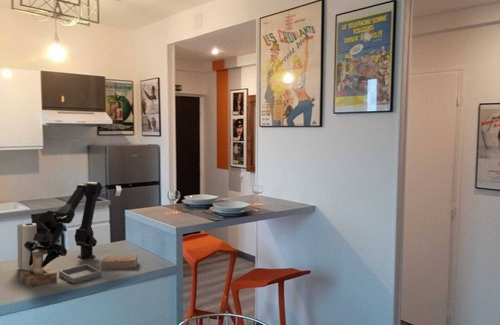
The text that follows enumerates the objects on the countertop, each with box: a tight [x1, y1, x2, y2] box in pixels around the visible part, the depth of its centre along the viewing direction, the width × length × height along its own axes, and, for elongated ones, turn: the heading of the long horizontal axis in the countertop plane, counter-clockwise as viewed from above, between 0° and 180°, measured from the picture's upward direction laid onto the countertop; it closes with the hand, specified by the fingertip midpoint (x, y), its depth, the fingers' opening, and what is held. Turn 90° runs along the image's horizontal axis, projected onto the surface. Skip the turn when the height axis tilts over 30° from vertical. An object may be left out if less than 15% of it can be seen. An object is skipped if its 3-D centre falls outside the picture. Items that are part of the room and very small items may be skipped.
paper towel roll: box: [16, 222, 38, 271], centre depth 190 cm, size 7×6×21 cm
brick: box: [100, 254, 139, 270], centre depth 199 cm, size 17×8×5 cm, turn 99°
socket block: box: [19, 265, 58, 288], centre depth 177 cm, size 11×11×4 cm
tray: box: [58, 263, 102, 285], centre depth 184 cm, size 13×13×2 cm
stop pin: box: [32, 250, 45, 276], centre depth 177 cm, size 5×5×13 cm
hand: (35, 266), depth 175 cm, fingers open, 6 cm apart
